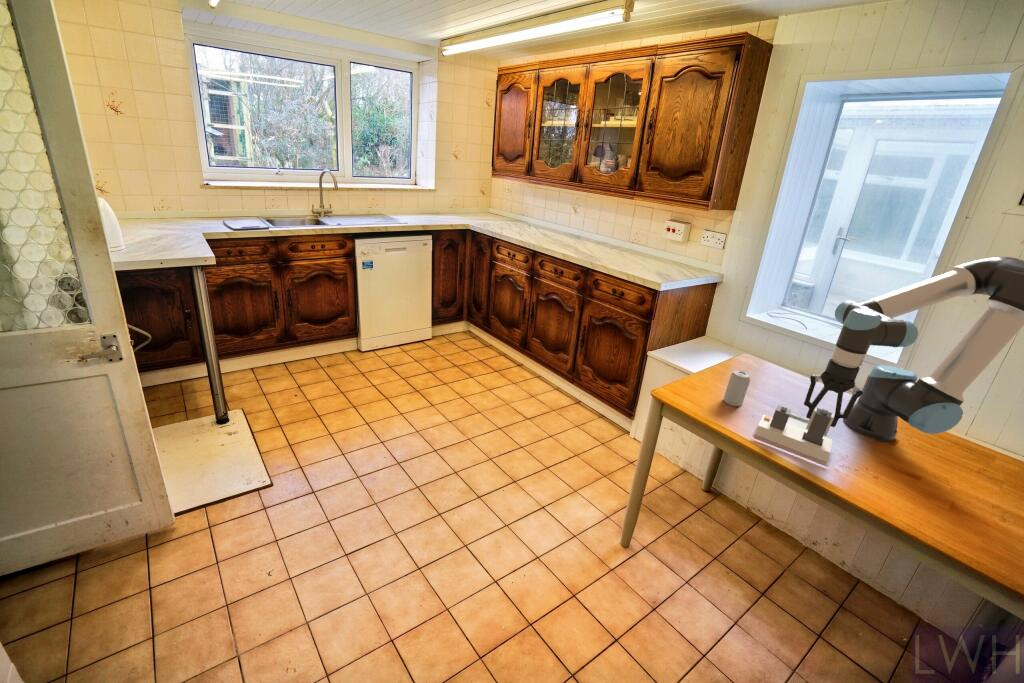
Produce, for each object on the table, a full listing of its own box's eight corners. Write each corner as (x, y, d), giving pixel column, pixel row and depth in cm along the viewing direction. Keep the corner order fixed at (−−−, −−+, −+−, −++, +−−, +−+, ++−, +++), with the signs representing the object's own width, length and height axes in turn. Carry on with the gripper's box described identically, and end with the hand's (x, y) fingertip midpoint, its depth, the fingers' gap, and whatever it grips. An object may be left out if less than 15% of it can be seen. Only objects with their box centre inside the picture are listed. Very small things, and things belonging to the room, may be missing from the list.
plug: (818, 445, 148) (833, 410, 143) (816, 451, 145) (832, 415, 140) (803, 440, 150) (818, 405, 145) (802, 446, 147) (816, 410, 142)
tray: (823, 429, 160) (825, 425, 160) (820, 441, 153) (822, 438, 152) (784, 415, 167) (786, 411, 166) (780, 426, 159) (781, 423, 159)
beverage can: (743, 402, 173) (752, 373, 168) (740, 409, 167) (750, 379, 163) (724, 396, 175) (733, 367, 171) (721, 403, 170) (730, 373, 166)
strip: (828, 450, 149) (841, 420, 144) (825, 463, 142) (838, 432, 138) (759, 424, 159) (770, 396, 155) (754, 435, 152) (764, 406, 148)
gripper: (881, 368, 134) (849, 437, 144) (813, 349, 143) (787, 415, 152) (880, 376, 129) (848, 448, 138) (810, 356, 137) (783, 424, 147)
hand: (816, 430), depth 145 cm, fingers closed on plug, 4 cm apart
